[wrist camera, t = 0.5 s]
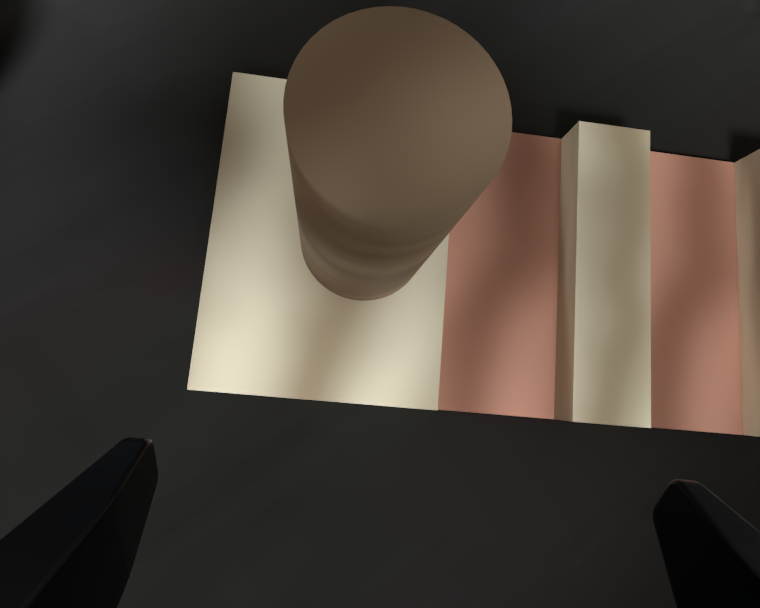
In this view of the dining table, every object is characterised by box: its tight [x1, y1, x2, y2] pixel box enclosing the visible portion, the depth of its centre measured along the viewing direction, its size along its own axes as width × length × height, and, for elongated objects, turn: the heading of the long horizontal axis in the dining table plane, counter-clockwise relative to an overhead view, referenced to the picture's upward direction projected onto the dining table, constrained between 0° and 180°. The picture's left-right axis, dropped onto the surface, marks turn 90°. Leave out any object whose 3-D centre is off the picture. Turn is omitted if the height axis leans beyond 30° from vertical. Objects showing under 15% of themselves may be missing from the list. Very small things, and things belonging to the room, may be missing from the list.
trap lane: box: [187, 72, 760, 437], centre depth 23 cm, size 33×13×2 cm, turn 85°
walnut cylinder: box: [283, 6, 512, 301], centre depth 16 cm, size 5×5×10 cm
